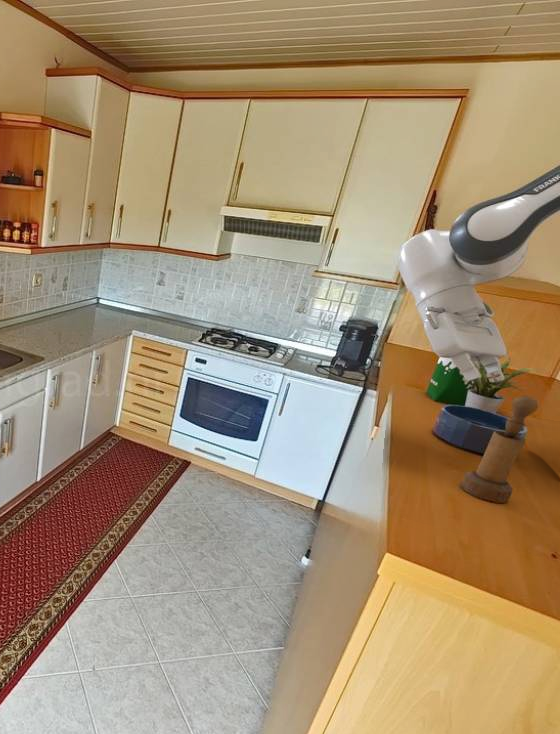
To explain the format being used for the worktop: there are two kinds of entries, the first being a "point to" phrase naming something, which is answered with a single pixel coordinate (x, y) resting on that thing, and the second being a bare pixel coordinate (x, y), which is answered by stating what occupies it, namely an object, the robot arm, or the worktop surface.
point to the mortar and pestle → (500, 456)
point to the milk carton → (449, 383)
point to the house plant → (490, 389)
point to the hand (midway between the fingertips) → (486, 380)
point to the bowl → (469, 427)
